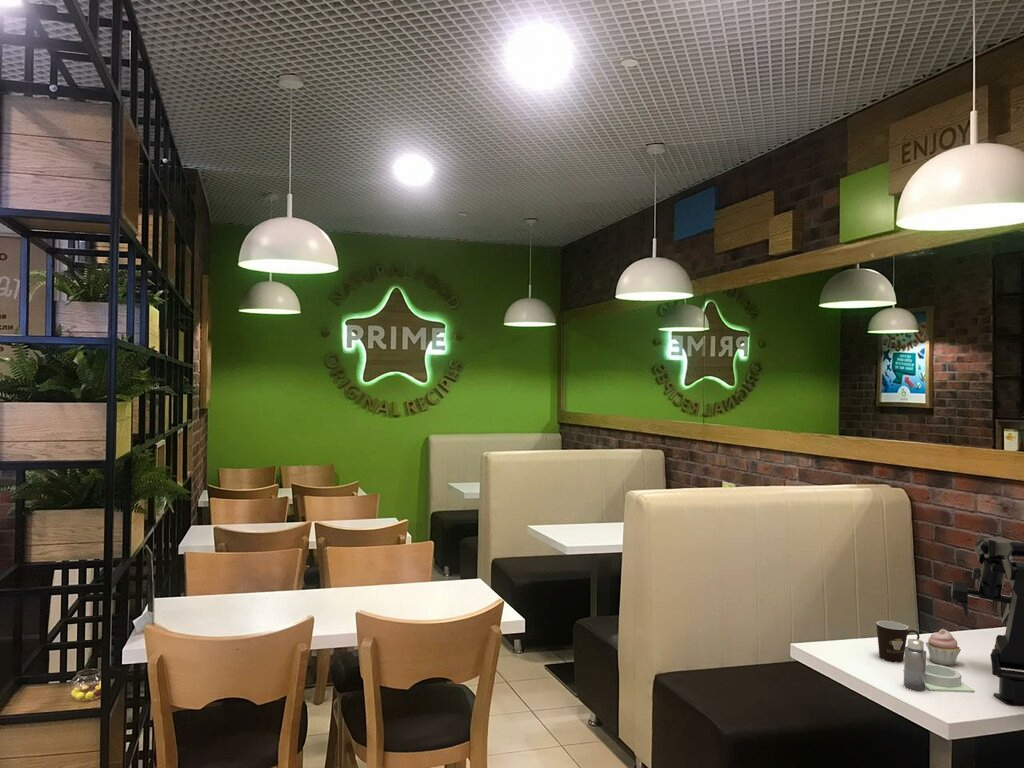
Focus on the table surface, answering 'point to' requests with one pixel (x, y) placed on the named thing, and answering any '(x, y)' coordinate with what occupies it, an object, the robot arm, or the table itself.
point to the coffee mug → (892, 640)
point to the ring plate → (944, 679)
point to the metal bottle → (915, 665)
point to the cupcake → (943, 648)
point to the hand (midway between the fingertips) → (984, 619)
